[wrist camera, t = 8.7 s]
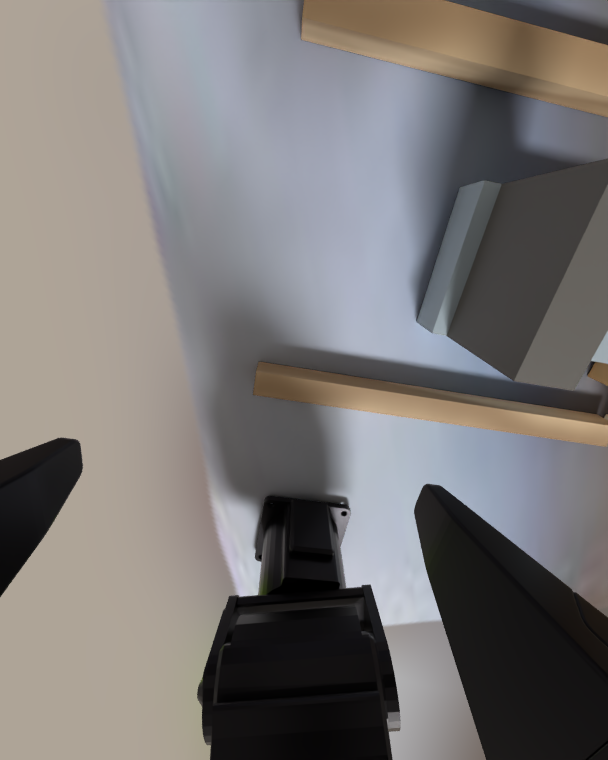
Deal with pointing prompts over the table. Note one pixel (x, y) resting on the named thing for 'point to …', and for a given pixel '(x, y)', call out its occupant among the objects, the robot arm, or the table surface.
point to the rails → (483, 67)
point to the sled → (527, 276)
